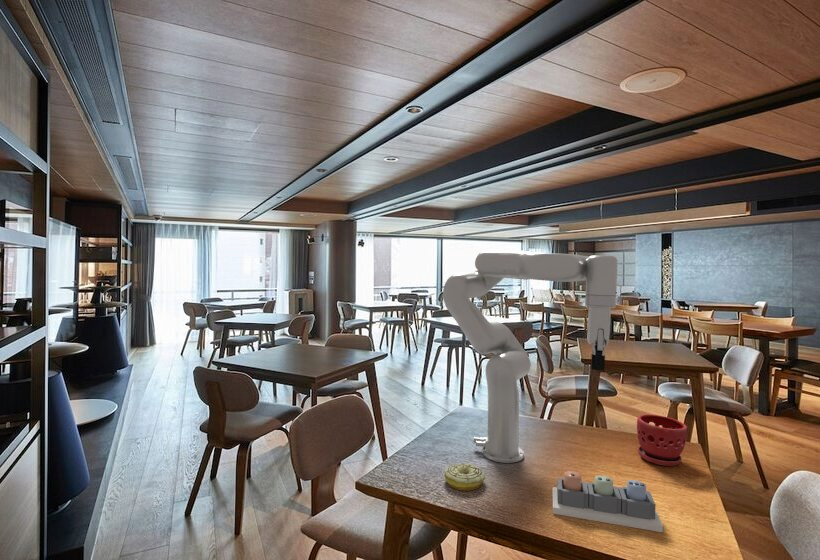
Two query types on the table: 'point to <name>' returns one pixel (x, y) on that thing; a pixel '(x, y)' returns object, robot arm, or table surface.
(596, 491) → the button two pip
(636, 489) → the button three pip
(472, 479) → the decorated donut
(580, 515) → the button board
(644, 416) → the plant pot
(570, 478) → the button one pip
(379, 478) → the table surface
